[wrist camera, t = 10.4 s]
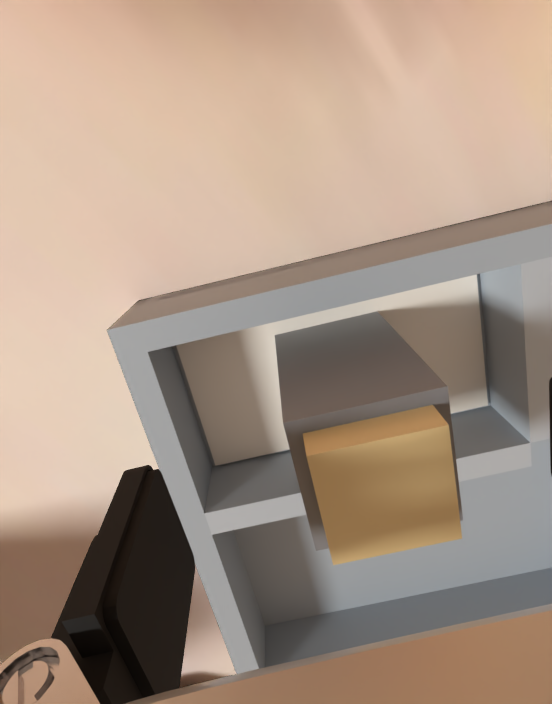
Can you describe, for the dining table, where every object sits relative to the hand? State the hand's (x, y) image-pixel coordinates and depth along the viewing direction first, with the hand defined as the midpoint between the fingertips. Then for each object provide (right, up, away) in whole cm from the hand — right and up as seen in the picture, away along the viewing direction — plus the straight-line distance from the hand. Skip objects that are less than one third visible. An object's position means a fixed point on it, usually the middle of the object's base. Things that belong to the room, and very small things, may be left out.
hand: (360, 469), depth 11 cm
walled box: (+3, -1, +10) cm, 11 cm away
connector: (0, +2, +7) cm, 8 cm away
